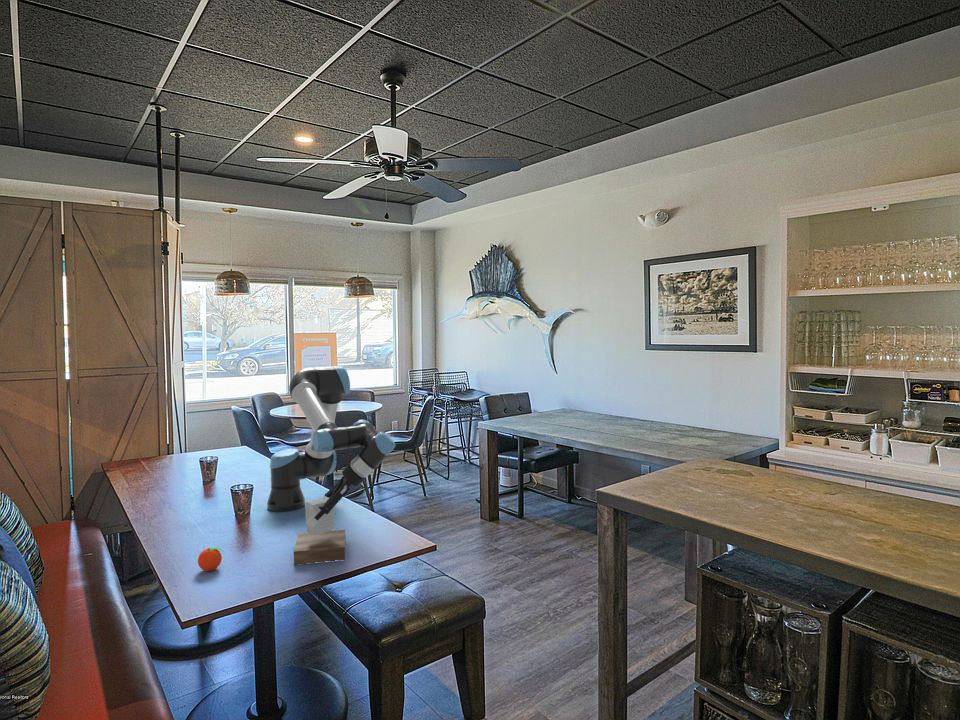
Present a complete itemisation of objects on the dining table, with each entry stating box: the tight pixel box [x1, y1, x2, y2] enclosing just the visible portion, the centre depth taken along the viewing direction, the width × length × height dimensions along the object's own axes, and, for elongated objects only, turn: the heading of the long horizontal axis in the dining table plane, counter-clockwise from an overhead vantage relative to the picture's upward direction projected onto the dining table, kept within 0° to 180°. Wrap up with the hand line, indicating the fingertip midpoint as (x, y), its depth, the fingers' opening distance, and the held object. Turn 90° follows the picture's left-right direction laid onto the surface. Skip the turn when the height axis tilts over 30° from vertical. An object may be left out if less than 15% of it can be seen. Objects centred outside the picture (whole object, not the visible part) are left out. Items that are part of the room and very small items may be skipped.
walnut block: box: [293, 529, 346, 566], centre depth 194 cm, size 16×16×5 cm
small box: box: [304, 496, 336, 536], centre depth 193 cm, size 8×6×10 cm
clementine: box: [197, 547, 226, 572], centre depth 181 cm, size 8×7×7 cm
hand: (310, 520), depth 193 cm, fingers closed on small box, 9 cm apart
